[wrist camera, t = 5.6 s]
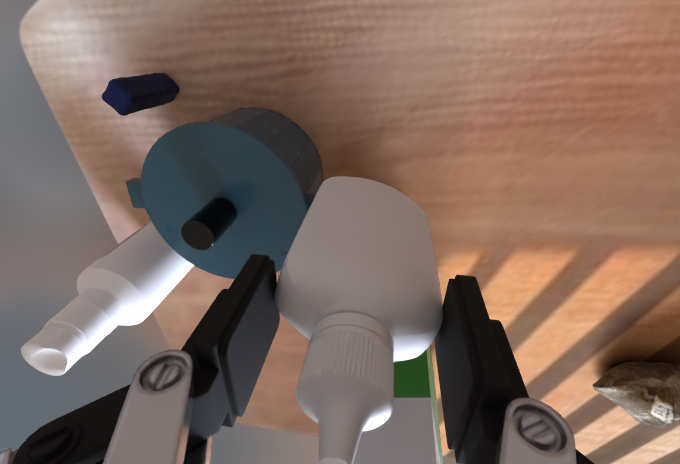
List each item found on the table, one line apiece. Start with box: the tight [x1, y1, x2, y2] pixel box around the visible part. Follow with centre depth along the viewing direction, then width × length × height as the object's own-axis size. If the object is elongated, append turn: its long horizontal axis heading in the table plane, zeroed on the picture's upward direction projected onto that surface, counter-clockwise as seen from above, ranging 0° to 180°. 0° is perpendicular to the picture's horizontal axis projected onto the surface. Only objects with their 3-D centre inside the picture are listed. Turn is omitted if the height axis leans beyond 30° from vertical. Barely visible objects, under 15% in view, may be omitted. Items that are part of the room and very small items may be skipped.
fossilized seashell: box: [593, 361, 680, 428], centre depth 38 cm, size 8×7×10 cm
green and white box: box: [353, 345, 443, 464], centre depth 32 cm, size 18×7×24 cm, turn 13°
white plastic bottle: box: [21, 221, 194, 376], centre depth 33 cm, size 7×7×18 cm
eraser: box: [102, 73, 179, 116], centre depth 29 cm, size 2×2×7 cm
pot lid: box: [141, 122, 308, 279], centre depth 26 cm, size 14×14×5 cm
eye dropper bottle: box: [274, 176, 443, 464], centre depth 12 cm, size 4×6×12 cm
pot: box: [126, 108, 323, 210], centre depth 31 cm, size 13×18×8 cm
